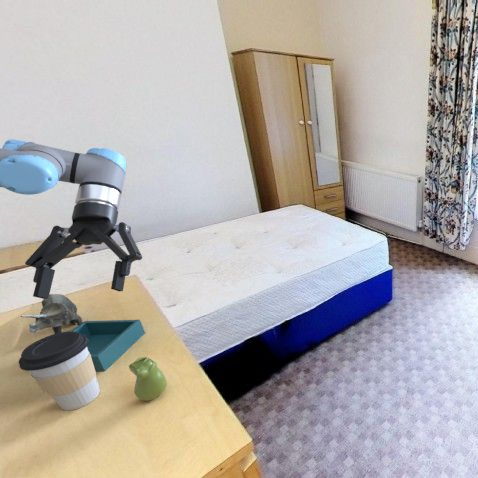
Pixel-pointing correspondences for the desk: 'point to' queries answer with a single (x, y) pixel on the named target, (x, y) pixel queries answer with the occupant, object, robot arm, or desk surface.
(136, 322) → the tray
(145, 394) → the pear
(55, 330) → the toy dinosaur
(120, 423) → the desk surface
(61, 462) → the desk surface
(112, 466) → the desk surface
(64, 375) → the coffee cup
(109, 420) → the desk surface
